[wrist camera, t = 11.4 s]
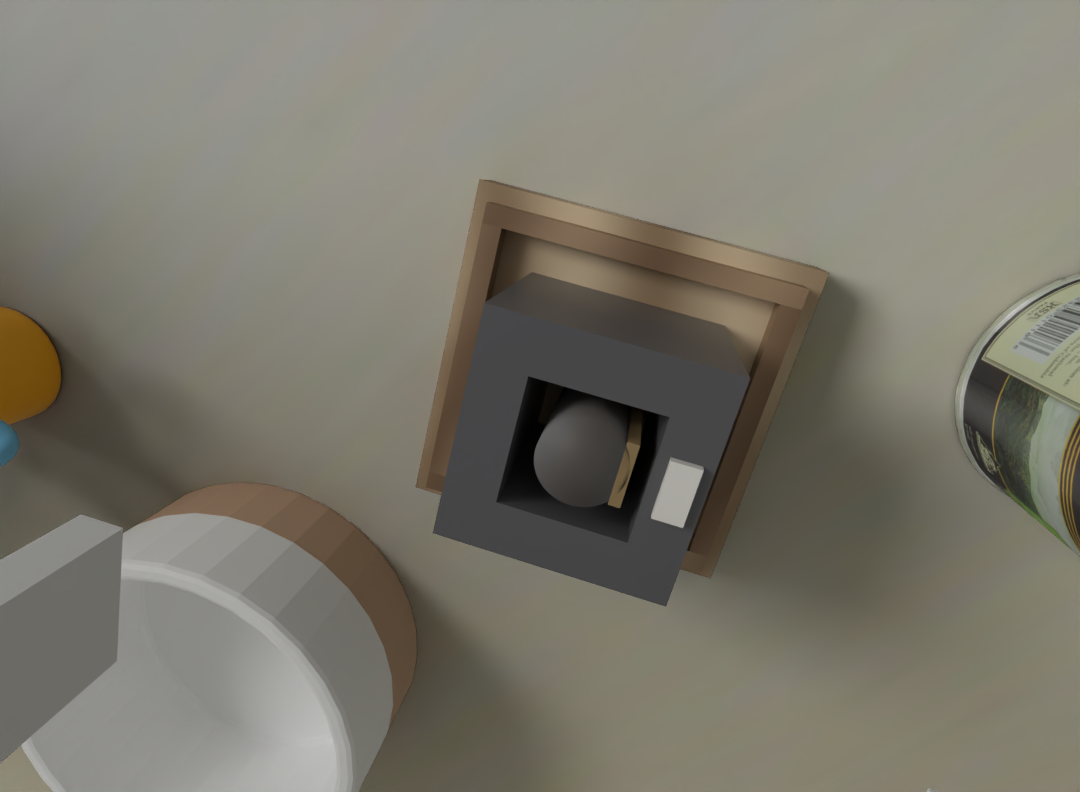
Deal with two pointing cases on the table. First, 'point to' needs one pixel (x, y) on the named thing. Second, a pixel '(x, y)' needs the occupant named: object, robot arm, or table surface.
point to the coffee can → (1029, 406)
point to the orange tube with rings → (24, 375)
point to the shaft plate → (645, 276)
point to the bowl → (240, 655)
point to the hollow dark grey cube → (605, 371)
